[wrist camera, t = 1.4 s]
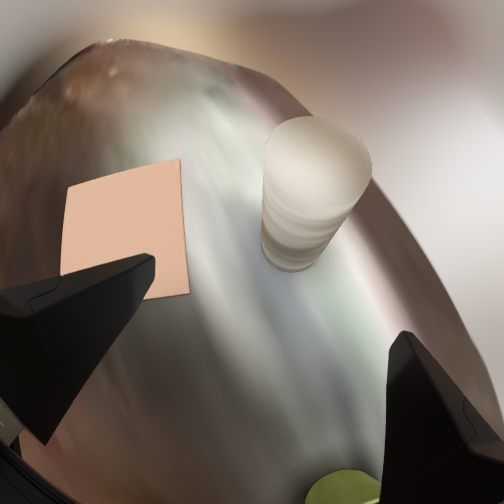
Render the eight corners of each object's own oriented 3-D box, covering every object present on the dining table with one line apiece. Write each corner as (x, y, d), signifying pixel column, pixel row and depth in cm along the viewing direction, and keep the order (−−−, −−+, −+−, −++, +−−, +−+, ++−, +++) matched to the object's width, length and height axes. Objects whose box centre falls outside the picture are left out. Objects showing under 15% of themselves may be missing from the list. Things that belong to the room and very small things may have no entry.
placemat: (190, 293, 22) (189, 292, 22) (62, 309, 22) (60, 309, 22) (179, 159, 26) (179, 158, 26) (69, 188, 26) (68, 187, 26)
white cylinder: (288, 284, 22) (319, 228, 11) (248, 238, 24) (240, 148, 12) (333, 246, 23) (391, 167, 12) (293, 204, 24) (317, 103, 13)
